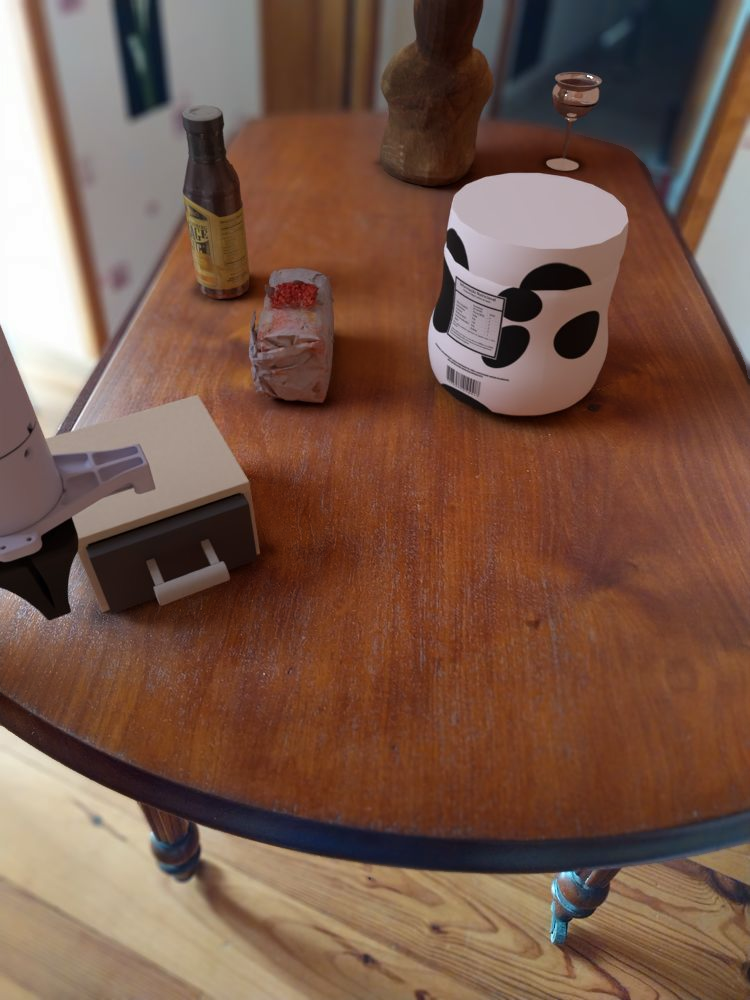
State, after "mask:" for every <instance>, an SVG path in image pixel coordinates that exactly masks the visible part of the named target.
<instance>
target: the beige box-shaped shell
mask: <svg viewBox="0 0 750 1000" xmlns="http://www.w3.org/2000/svg"><path fill="white" fill-rule="evenodd" d="M45 439H46V442H47V444H48V447H49V449H50V452H51V454H65V453H77V452H90V451H103V450H111V449H117V448H123V447H127V446H131V445H135V444H140V446H141V448H142V450H143V452H144V454H145V457H146V459H147V461H148V463H149V466H150V470H151V473H152V477H153V480H154V484H155V488H156V489H155V490H152V491H149V492H146V493H143V494H136V493H135V491H134V488H132V489H129V490H126V491H123V492H120V493H117V494H114V495H111V496H108V497H105V498H102V499H101V500H99V501H97V502H96V503H94V504H92V505H91V506H89V507H87V508H86V509H84V510H82V511H81V512H79V513H77V514H76V515H74V516H72V519H73V522H74V525H75V528H76V531H77V534H78V552H77V555H78V557H79V560H80V562H81V566H82V567H83V569H84V572H85V575H86V576H87V579H88V582H89V584H90V586H91V589H92V591H93V593H94V596H95V598H96V601H97V603H98V606H99V608H100V610H101V612H102V613H106V612H108V611H110V609H109V606H108V604H107V601H106V599H105V596H104V594H103V591H102V589H101V586H100V584H99V581H98V579H97V576H96V574H95V571H94V569H93V566H92V564H91V561H90V559H89V556H88V553H87V550H86V547H87V546H90V545H93V544H96V541H99V540H102V539H105V538H108V537H111V536H114V535H117V534H120V533H123V532H125V531H128V530H131V529H134V528H137V527H140V526H143V525H146V524H149V523H152V522H155V521H158V520H161V519H164V518H167V517H170V516H172V515H175V514H178V513H181V512H184V511H187V510H190V509H193V508H196V507H199V506H202V505H205V504H208V503H211V502H214V501H217V500H219V499H222V498H225V497H228V496H230V498H231V497H234V496H237V495H240V494H244V496H245V497H246V499H247V501H248V503H249V507H250V513H251V520H252V526H253V533H254V539H255V546H256V552H257V556H258V555H260V554H261V551H260V543H259V535H258V530H257V524H256V523H257V522H256V517H255V510H254V503H253V497H252V489H251V484H250V480H249V479H248V476H247V475H246V473H245V471H244V470H243V468H242V467H241V465H240V463H239V461H238V460H237V458H236V456H235V455H234V453H233V451H232V449H231V448H230V446H229V445H228V443H227V441H226V439H225V437H224V436H223V434H222V432H221V430H220V429H219V428H218V426H217V424H216V422H215V421H214V419H213V417H212V416H211V414H210V412H209V410H208V409H207V407H206V405H205V403H204V401H203V400H202V399H201V397H200V395H199V394H195V395H193V396H189V397H185V398H182V399H178V400H174V401H171V402H168V403H164V404H161V405H158V406H154V407H151V408H150V407H149V408H148V409H143V410H140V411H137V412H136V411H135V412H133V413H130V414H126V415H123V416H119V417H115V418H112V419H109V420H106V421H103V422H98V423H96V424H91V425H89V426H85V427H81V428H78V429H75V430H74V429H73V430H70V431H67V432H64V433H61V434H57V435H54V436H50V437H47V438H46V437H45Z"/></svg>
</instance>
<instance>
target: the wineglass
mask: <svg viewBox="0 0 750 1000" xmlns="http://www.w3.org/2000/svg"><path fill="white" fill-rule="evenodd" d="M554 80H555V83H556V84H555V85H554V87H553V90H552V92H551V102H552V105H553V107H554V108H555V110H556V112H557V113H558V114H559V115H560V116H562V117H564V119H565V121H566V122H567V124H566V131H565V137H564V145H563V152H562V157H555V158H554V157H553V158H551V159H548V160H547V161H546V166H547V167H549V168H551V169H553V170H557V171H564V172H565V171H575V170H577V169H578V168H579V165H580V164H579V163H578V162H576V161H575V160H573V159H570V158H566V155H567V150H568V145H569V141H570V137H571V133H572V130H573V129H572V128H573V124H574V122H576V121H577V119H579V118H583V117H585V116H586V115H587V114H589V113H590V112H592V111H593V110H594V109H595V107H596V105H598V103H599V102H598V101H599V97H600V89H599V86H600V85H601V83H602V81H603V80H602V79H601V77H599V76H597V75H594V74H591V73H587V72H581V71H580V72H578V71H568V72H567V71H566V72H561V73H558V74H557V75H555V77H554Z"/></svg>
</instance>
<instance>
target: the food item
mask: <svg viewBox="0 0 750 1000" xmlns="http://www.w3.org/2000/svg"><path fill="white" fill-rule="evenodd" d="M330 280H331V277H330V276H328V275H326V274H324V273H322V272H321V271H317V270H313V269H308V268H303V267H294V268H283V269H276V270H273V271H272V272H271V273H270V277H269V279H268V284H267V283H266V284H264V292H265V293H266V295H265V296H264V300H263V301H264V303H263V309H262V310H261V312H260V315H259V321H258V324H257V325H256V320H257V316H256V315H257V314H256V309H254V310H253V312H252V313H253V314H252V317H251V322H250V323H251V324H250V332H249V347H248V356H249V360H250V363H251V368H250V371H251V379H252V380H253V385H254V391H255V392H256V394H257V395H258V396H259V397H260V398H262V396H264V397H265V398H274V399H278V400H279V399H280V400H284V401H296V402H308V403H313V404H314V403H317V404H323V403H324V401H325V399H326V397H327V394H328V390H329V386H330V381H331V375H332V369H333V355H334V343H335V338H334V334H335V329H334V328H335V316H334V304H333V303H334V302H335V300H334V297H333V295H334V294H333V289H332V285H331V282H330ZM256 326H257V327H256Z"/></svg>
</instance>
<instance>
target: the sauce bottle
mask: <svg viewBox="0 0 750 1000" xmlns="http://www.w3.org/2000/svg"><path fill="white" fill-rule="evenodd" d="M181 118H182V127H183V129H184V131H185V134H186V142H187V149H188V156H187V157H188V158H187V163H186V167H185V168H186V169H185V175H184V181H183V186H182V197H183V203H184V209H185V217H186V223H187V230H188V235H189V243H190V247H191V253H192V254H191V255H192V261H193V267H194V273H195V278H196V280H197V282H198V288H199V290H200V292H202V294H204V295H205V296H206V297H210V299H213V300H229V299H234V298H238V297H240V296H242V295H244V294H245V293H246V292H247V291H248V290H249V287H250V276H251V275H250V274H251V273H250V263H249V254H248V244H247V232H246V223H245V222H246V221H245V213H244V211H245V210H244V203H243V200H242V193H241V192H242V191H241V182H240V178H239V175H238V173H237V171H236V170H235V168H234V165H233V163H231V162H230V161H229V159H228V158H227V148H226V146H225V137H224V128H225V121H224V119H225V118H224V114H223V111H222V110H221V109H220V108H219V107H216V106H214V105H204V104H201V105H194V106H190V107H188V108H185V110H184V111H182V113H181Z"/></svg>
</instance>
